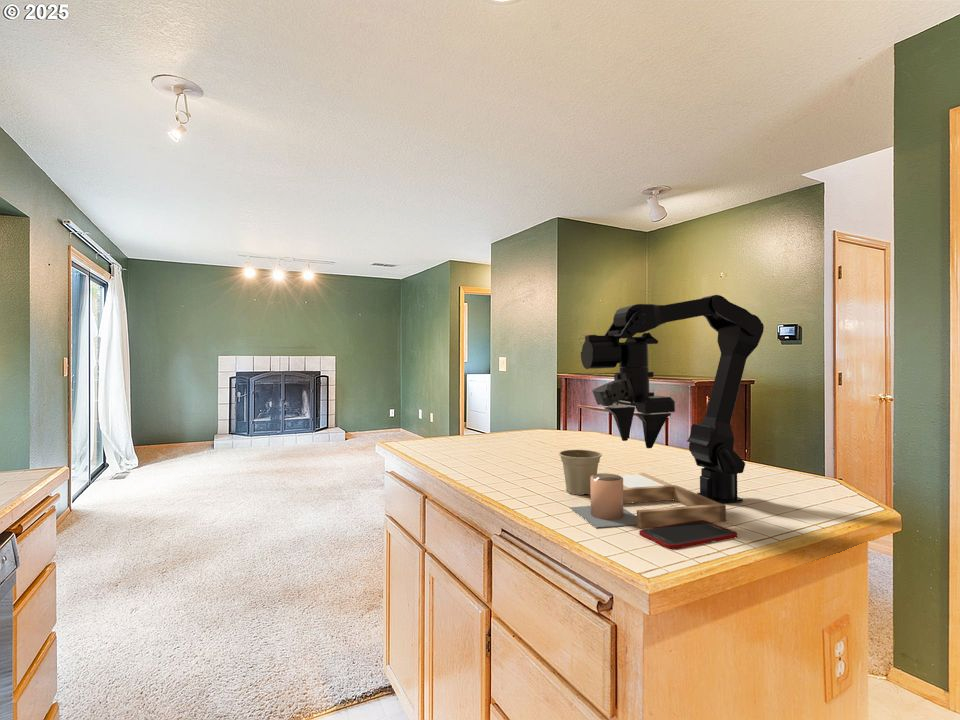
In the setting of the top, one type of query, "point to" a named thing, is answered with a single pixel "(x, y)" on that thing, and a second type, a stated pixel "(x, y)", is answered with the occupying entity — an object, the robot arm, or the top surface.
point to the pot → (607, 496)
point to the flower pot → (579, 469)
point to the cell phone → (687, 534)
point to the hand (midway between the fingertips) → (636, 444)
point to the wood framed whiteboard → (641, 481)
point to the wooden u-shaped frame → (693, 510)
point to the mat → (597, 522)
